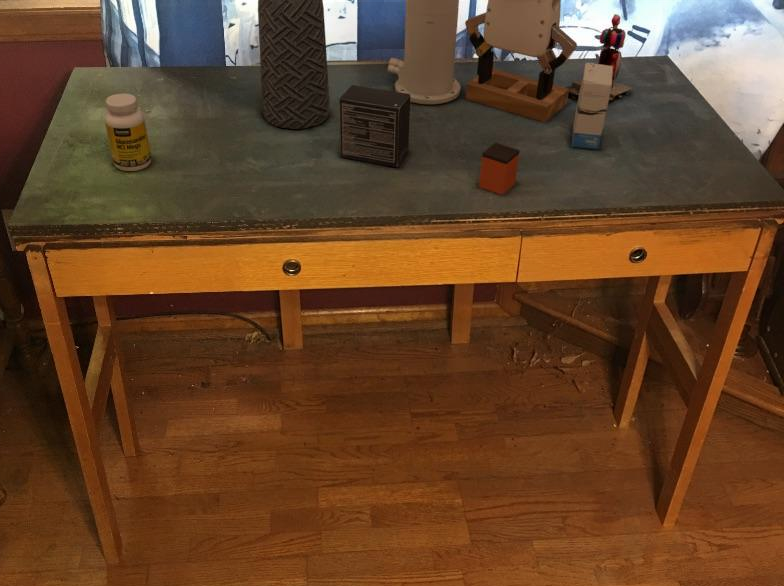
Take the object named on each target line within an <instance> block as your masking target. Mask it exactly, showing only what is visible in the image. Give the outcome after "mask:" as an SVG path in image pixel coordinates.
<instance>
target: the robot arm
mask: <svg viewBox="0 0 784 586" xmlns="http://www.w3.org/2000/svg"><path fill="white" fill-rule="evenodd" d="M459 5H460V0H405V21H404V22H405V24H404V25H405V26H404V52H403V60H401V59H399V58H396V57H390V59H389V60H388V66H387V72H388V73H389V74H395V75H397V80H396V81H395V83H394V92H400V93H406V94H410V95H411V96H410V103H414V104H420V105H441V104H446V103H449V102H451V101H454V100H456V99H457V98H458V97H459V96H460V94H461V88H462V87H461V83H460V82H459V81H458V80H457V79H455V78H454V72H455V60H456V59H455V58H456V47H457V34H458V21H459V20H458V19H459ZM561 6H562V0H488V1H487V5H486V11H485V12H483V13H480V14H478V15H475V16H471V17H469V18H468V19H466V20H465V22H464V23H465V24H464V25H465V28H466V31H467V35H468V36H469V37H468V38H469V39H468V40H469V42H470V44H471V45H472V46H473V48H474V50H475V55H476V56H477V57H478V58H477V69H476V75H477V76H479V77H478V84H484V83H485V82H487V81H488V80H489V79H491V77H492V69H493V68H494V59H495V58H494V57H495V54H494V51H492V49H493V48H494V49H499V50H503V51H507V52H510V53H514V54H519V55H523V56H526V57H531V58H536V59H537V61H538V63H539V65H540V66H541V69H542V71H540V72H539V75H538V87H537V94H536V98H537V99H538V100H542V99H543V98H544V97H545V96H547V95H548V94H549V93H550V92H551V90H552V87H553V85H554V79H555V72H556V70H557V69H558V68H559V67H561V66H562V65H564V64H565V63H566V62H568V60H569V59H570V57H571V56H572V55H573V53H574V52H575V50H577V47H578V43H577V42H576V40H574V39H573V38H572V37H571V36H569V34H567V33H566V32H565V31H564V30H563V29H562V28H561V27H560V25H561V24H560V22H561V11H562V9H561V8H562V7H561ZM481 25H483V35H482V33H481V32H480V28H479V26H481ZM557 44H558V45H559V46H560V47H561V52H560V53H559V55H558V56H557V55H556V54H555V52H554V50H553V49H555V48H556V47H557V46H558V45H557Z"/></svg>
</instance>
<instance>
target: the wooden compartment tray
mask: <svg viewBox="0 0 784 586" xmlns="http://www.w3.org/2000/svg"><path fill="white" fill-rule="evenodd" d="M478 77H479V75H477V76H475V77H474V78H472V79H471V80H470V81H469V82H467V83H466V86H465V100H468V101H471V102H474V103H478V104H481V105H484V106H487V107H491V108H495V109H498V110H501V111H505V112H508V113H511V114H515V115H518V116H522V117H525V118H528V119H532V120H535V121H539V122H542V123H547V122H548V121H549V120H550V119H551V118H552V117H554V116H555V115H556V114H557V113H558V112H560V110H562V109H563V108H564V107H566V105H568V100H569V99H568V98H569V89H567V87H563V86H559V85H556V84H553V87H552V90H551V92H550V93H549V94H548V95H547V96H545V97H544V98H543V99H542V100H538V99H537V98H536V94H537V87H538V80H539V79H538V80H537V79H534V78H532V77H531V78H530V77H526V76H524V75H520V74H516V73H512V72H509V71H505V70H501V69H498V68H494V67H493V69H492V77H491V79H489V80H488V81H487V82H485V83H484V84H478Z"/></svg>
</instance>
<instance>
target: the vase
mask: <svg viewBox="0 0 784 586" xmlns="http://www.w3.org/2000/svg"><path fill="white" fill-rule="evenodd" d="M257 22H258V40H259V41H258V42H259V45H258V46H259V65H260V67H259V68H260V87H261V90H260V91H261V107H262V114H263V118H264V119H265V121H267V122H268V123H269V124H271V125H273V126H275V127H279V128H282V129H283V128H284V129H290V130H291V129H292V130H293V129H294V130H297V129H298V130H301V129H308V128H312V127H315V126H316V127H317V126H318V125H321V124H322V123H324V122H325V121H326V120H328V118H329V115H330V111H331V106H330V87H329V73H328V71H329V70H328V57H327V41H326V39H327V38H326V24H325V9H324V1H323V0H257Z"/></svg>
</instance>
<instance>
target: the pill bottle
mask: <svg viewBox="0 0 784 586" xmlns="http://www.w3.org/2000/svg"><path fill="white" fill-rule="evenodd" d="M105 105H106V110H107V112H106V114H105V116H104V123H105V128H106V134H107V139H108V143H109V148H110V153H111V157H112V162H113V165H114V167H115V168H117V169H118V170H121V171H123V172H135V171H136V172H137V171H140V170H144V169H146V168H147V167H149V166H150V164H151V163H152V154H151V148H150V143H149V137H148V131H147V126H146V120H145V115H144V113H143V112H142V111H141V110H140V109H139V108H138V101H137V98H136V96H135V95H133V94H131V93H115V94H112V95H110V96H108V97H107V98H106V99H105Z"/></svg>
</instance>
